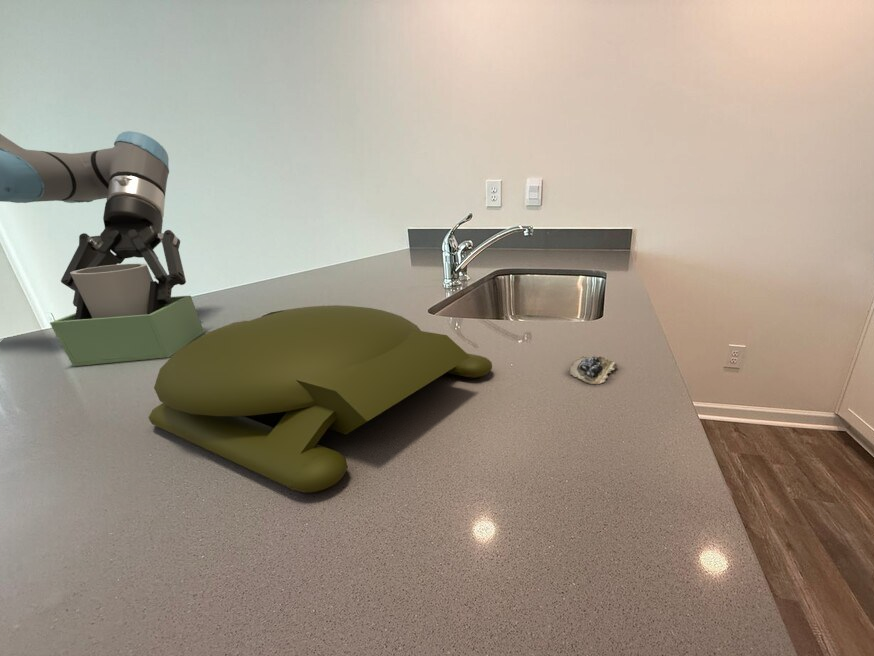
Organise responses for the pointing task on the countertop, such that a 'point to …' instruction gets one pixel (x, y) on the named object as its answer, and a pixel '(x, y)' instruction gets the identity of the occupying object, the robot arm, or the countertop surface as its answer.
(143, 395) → the countertop surface
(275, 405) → the spaceship
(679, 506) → the countertop surface
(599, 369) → the blueberries
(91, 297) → the cup
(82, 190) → the robot arm
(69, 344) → the bin
